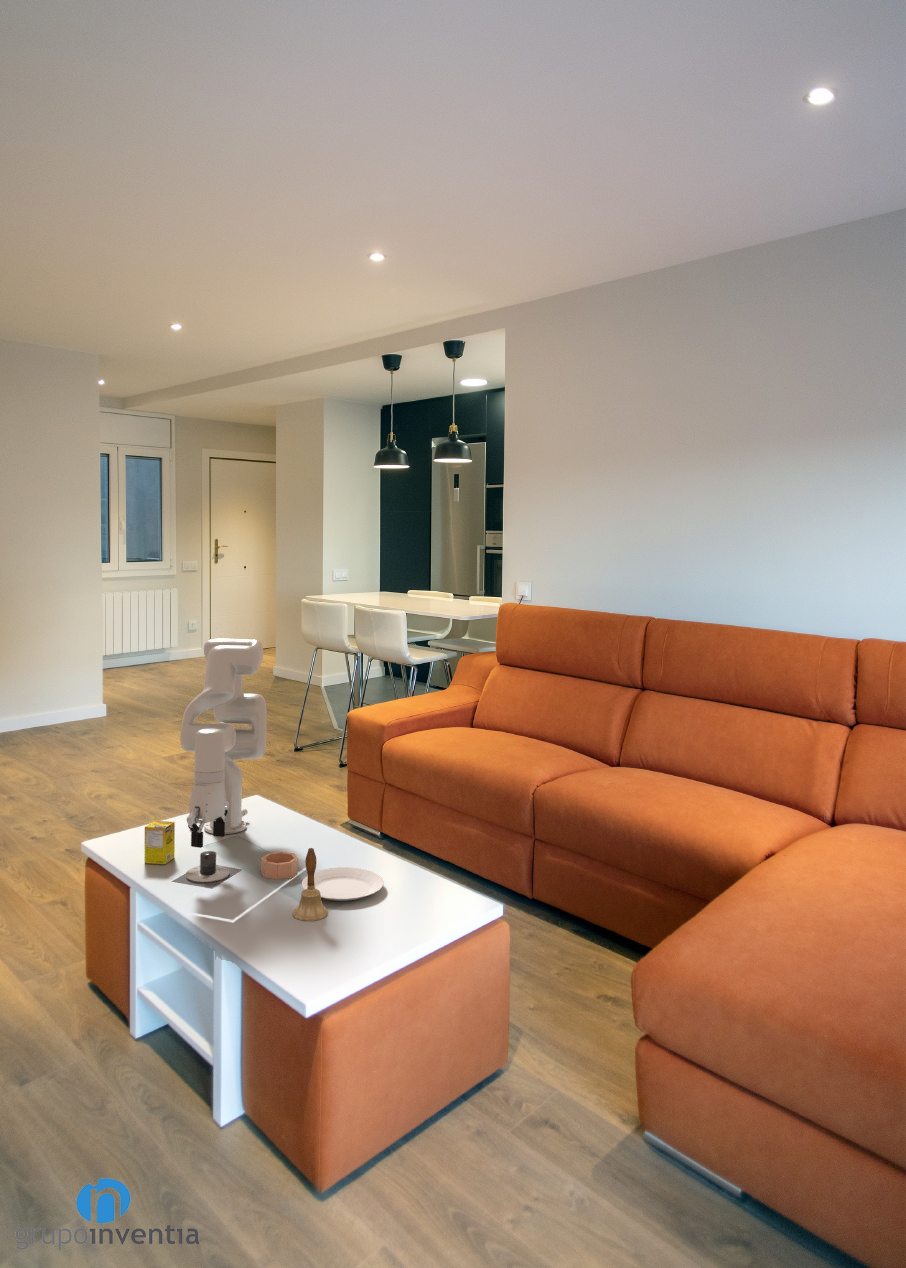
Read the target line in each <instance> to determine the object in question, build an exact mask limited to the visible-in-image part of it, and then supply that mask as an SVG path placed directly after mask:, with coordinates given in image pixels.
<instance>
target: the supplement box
mask: <svg viewBox="0 0 906 1268" xmlns="http://www.w3.org/2000/svg"><path fill="white" fill-rule="evenodd" d="M175 824H176V823H175V821H167V820H165V821H164V820H153V821H152V822H150V823H148V824H146V825H145V826H144V864H145V865H153V866H166V865H168V864H169V863H170V862H171V861H173V860H174V859H175V848H176V847H175V846H176V844H175V834H176V833H175V830H176V829H175V826H176V825H175Z"/></svg>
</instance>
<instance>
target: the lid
mask: <svg viewBox="0 0 906 1268" xmlns="http://www.w3.org/2000/svg"><path fill="white" fill-rule="evenodd" d="M199 857H200V859H199V865H198V866H194V867H192V868H189V870H187V871H186V872H185V874H186V879H187V880H189V881H191V882H195V883H213V882H218V881H221V880H224V879H226V878H227V877H228V876H229V875H230V870H229V869H228V868H227V867H228V866H224V865H221V864H220V865H219V864H217V852H216V851H212V850H208V851H207V850H206V851H201V853H200V854H199Z"/></svg>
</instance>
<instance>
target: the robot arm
mask: <svg viewBox="0 0 906 1268" xmlns="http://www.w3.org/2000/svg"><path fill="white" fill-rule="evenodd" d="M203 655H204V658H205V660H206V666H205V676H204V682H203V690H202V691H201V692H200V693H198V694H197V695H196V696H195V697H193V699H192V700H191V701H190V702H189V703H188V705H187V706H186V708H185V710H184V712H183V715H182V721H181V728H180V732H179V733H180V735H179V742H180V746H181V748H182V749H183V750H184V751H186V752H189V753H191V752H192V753H194V763H193V764H194V765H193V767H194V768H193V769H194V770H193V779H194V780H193V784H192V787H191V793H190V800H189V812H188V813H189V815H188V816H187V817H186V823H187V828H188V829H189V832H190V847H193V848H200V849H201V848H203V847H204V831H205V832H207V833H210V834H212V835H213V837H220V838H223V837H225V835H233V834H237V833H240V832H242V831H244V830H246V829H247V823H246V822H245V821H244V820H243V817H244V816H246V815H248V810H247V809H246V808H243V809H242V801H243V799H242V796H243V795H242V791H243V772H242V770H241V768H240V766H239V764H238V763H237V762H236V761H235V760H258V759H261V758H263V757H264V756H265V753H266V751H267V726H268V725H267V717H268V715H267V714H268V713H267V702H266V699H265V697H264V695H262V694H259V693H244V692H243V675H245V676H246V675H247V676H252V675H255V674H257V673H258V672H259V670H260V668H261V666H262V662H263V660H264V648H263V645H262V643H261V641H260V640H258V639H251V638H250V639H247V638H244V639H242V638H213V639H209V640H206V641H205V642H204V644H203ZM211 709H213V717H214V720H215V722H217V723H195V720H197V718H198V717H199V716H200V715H202V714H203V713H204V712H207V711H209V710H211ZM232 725H249V726H250V727H249V728H246V727H245V728H241V727H239V728H238V727H233V726H232ZM203 829H204V831H203Z"/></svg>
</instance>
